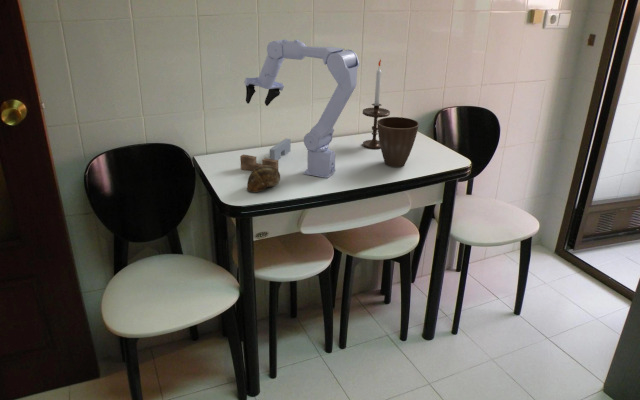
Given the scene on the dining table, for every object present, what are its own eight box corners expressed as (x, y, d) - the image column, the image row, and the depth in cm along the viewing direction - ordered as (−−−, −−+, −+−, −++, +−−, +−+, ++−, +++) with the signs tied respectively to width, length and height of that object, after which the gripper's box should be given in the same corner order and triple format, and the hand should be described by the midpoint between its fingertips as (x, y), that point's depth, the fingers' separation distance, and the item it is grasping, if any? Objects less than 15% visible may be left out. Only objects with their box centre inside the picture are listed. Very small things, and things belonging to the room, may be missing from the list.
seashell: (276, 181, 175) (276, 159, 171) (283, 192, 167) (283, 169, 163) (244, 184, 172) (242, 162, 168) (248, 195, 164) (248, 172, 160)
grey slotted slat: (285, 150, 203) (285, 138, 201) (290, 151, 202) (290, 139, 200) (269, 161, 191) (269, 149, 189) (274, 162, 190) (274, 150, 188)
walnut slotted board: (278, 173, 181) (278, 160, 179) (276, 175, 179) (275, 162, 177) (243, 167, 185) (243, 154, 183) (240, 169, 184) (240, 156, 181)
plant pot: (382, 172, 184) (385, 129, 177) (369, 158, 197) (371, 117, 190) (420, 169, 187) (425, 127, 180) (405, 155, 200) (409, 115, 193)
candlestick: (388, 150, 206) (395, 61, 191) (361, 149, 206) (366, 60, 191) (385, 141, 215) (392, 56, 201) (359, 140, 215) (364, 55, 201)
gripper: (283, 68, 185) (270, 98, 193) (247, 61, 177) (235, 93, 185) (290, 79, 181) (276, 110, 189) (253, 73, 173) (240, 105, 181)
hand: (256, 103), depth 187 cm, fingers open, 7 cm apart
